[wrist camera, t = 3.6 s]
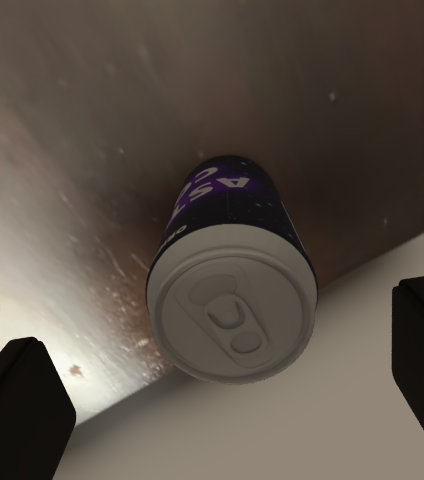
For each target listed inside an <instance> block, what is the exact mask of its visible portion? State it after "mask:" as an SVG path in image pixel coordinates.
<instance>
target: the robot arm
mask: <svg viewBox="0 0 424 480" xmlns="http://www.w3.org/2000/svg"><path fill="white" fill-rule="evenodd" d="M392 373H393V377H394V380H395V382H396V384H397V386H398V387H399V389H400V391H401V392H402V394H403V396H404V397H405V399H406V401H407V402H408V404H409V406H410V408H411V409H412V411H413V413H414V414H415V416H416V418H417V419H418V421H419V423H420V425H421V426H422V428H423V430H424V276H423V277H416V278H410V279H403V280H401V281H400V282H399V286H396V287H393V289H392ZM75 423H76V411H75V408H74V406H73V404H72V402H71V400H70V398H69V396H68V394H67V391H66V389H65V387H64V385H63V383H62V381H61V379H60V377H59V375H58V372H57V370H56V368H55V366H54V364H53V362H52V360H51V358H50V356H49V354H48V351H47V349H46V347H45V345H44V344H43V342H41V341H38V340H37V339H36V338H35V337H26V338H20V339H13V340H10V341H9V342H8V343H7V344H6V346H5V347H4V348H3V349H2V351H1V352H0V480H52V479H53V476H54V474H55V471H56V469H57V467H58V464H59V462H60V460H61V457H62V455H63V452H64V450H65V447H66V445H67V442H68V440H69V438H70V436H71V433H72V431H73V428H74V426H75Z"/></svg>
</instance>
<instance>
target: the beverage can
mask: <svg viewBox="0 0 424 480" xmlns="http://www.w3.org/2000/svg"><path fill="white" fill-rule="evenodd" d="M317 301H318V284H317V278H316V274H315V271H314V269H313V266H312V264H311V262H310V260H309V258H308V256H307V254H306V251H305V249H304V247H303V245H302V243H301V241H300V239H299V237H298V234H297V232H296V230H295V228H294V226H293V224H292V222H291V220H290V217H289V215H288V213H287V211H286V209H285V207H284V205H283V203H282V201H281V198H280V196H279V194H278V192H277V190H276V188H275V186H274V184H273V182H272V180H271V178H270V177H269V175H268V174H267V173H266V172H265V171H264V170H263V169H262V168H261V167H260V166H258V165H257V164H255V163H254V162H252V161H250V160H247V159H244V158H241V157H235V156H222V157H217V158H213V159H210V160H208V161H206V162H204V163H202V164H201V165H199V166H198V167H197V168H195V169H194V170H193V171H192V172H191V174H190V175H189V176H188V177H187V179H186V181H185V182H184V184H183V187H182V189H181V192H180V194H179V197H178V199H177V202H176V204H175V207H174V210H173V212H172V215H171V217H170V220H169V222H168V225H167V227H166V230H165V232H164V235H163V237H162V240H161V243H160V245H159V248H158V250H157V253H156V255H155V258H154V260H153V263H152V265H151V268H150V271H149V273H148V277H147V282H146V304H147V308H148V312H149V315H150V322H151V328H152V333H153V335H154V338H155V340H156V343H157V345H158V346H159V348H160V350H161V351H162V353H163V354H164V355H165V356H166V357H167V358H168V360H169V361H171V362H172V363H173V364H174V365H175V366H176V367H178V368H179V369H181V370H182V371H184V372H185V373H187V374H189V375H191V376H193V377H196V378H198V379H201V380H204V381H207V382H212V383H216V384H225V385H241V384H248V383H254V382H257V381H261V380H265V379H267V378H269V377H271V376H274V375H276V374H278V373H280V372H281V371H283V370H285V369H286V368H287V367H288V366H290V365H291V364H292V363H293V362H294V361H295V360H296V359H297V358H298V357H299V356H300V355H301V354H302V352H303V351H304V349H305V348H306V346H307V345H308V342H309V340H310V338H311V336H312V332H313V327H314V318H315V310H316V306H317Z"/></svg>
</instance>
